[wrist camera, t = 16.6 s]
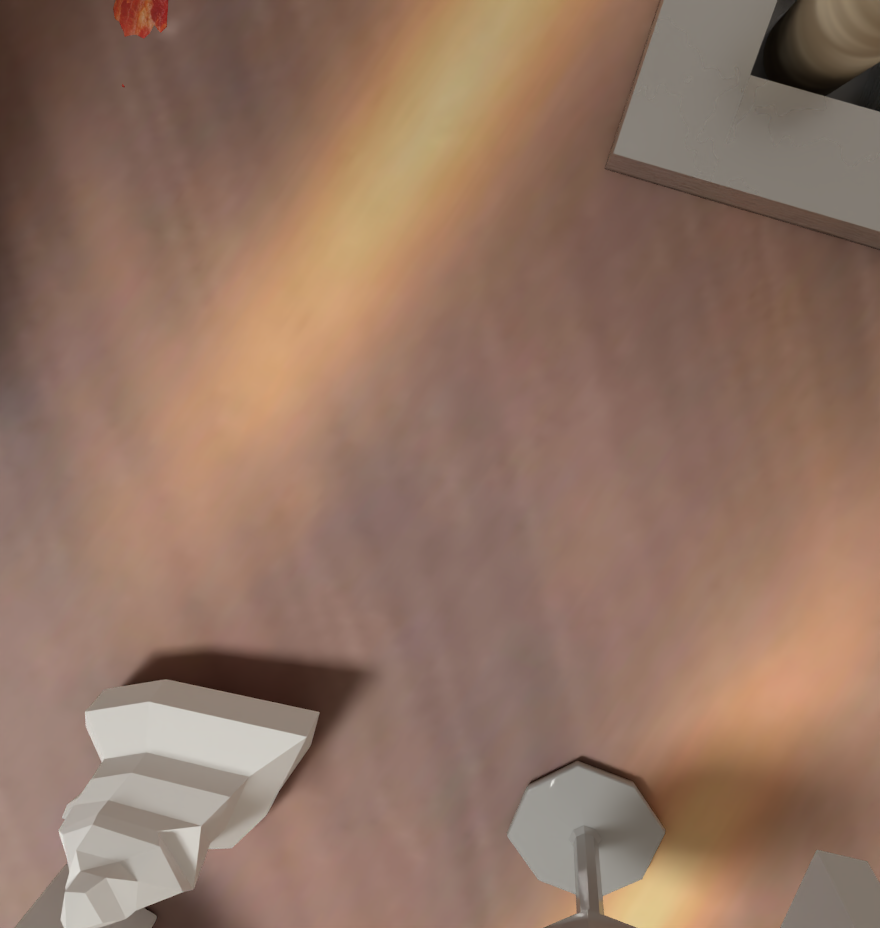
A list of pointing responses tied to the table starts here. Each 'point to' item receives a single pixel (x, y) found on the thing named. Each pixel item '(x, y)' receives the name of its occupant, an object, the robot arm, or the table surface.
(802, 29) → the beige cylinder
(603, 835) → the wineglass
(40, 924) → the milk carton
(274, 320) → the table surface
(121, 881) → the soft serve ice cream
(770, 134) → the block
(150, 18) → the bacon strip
